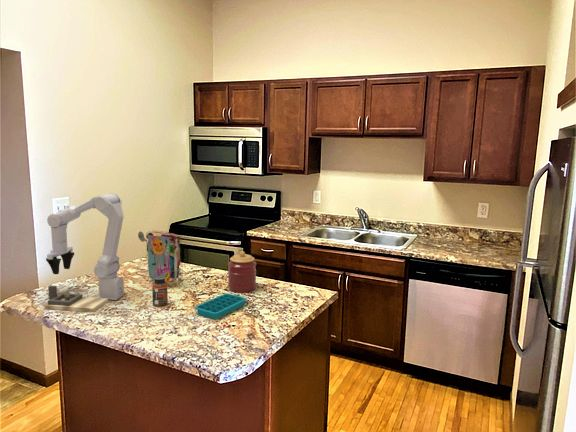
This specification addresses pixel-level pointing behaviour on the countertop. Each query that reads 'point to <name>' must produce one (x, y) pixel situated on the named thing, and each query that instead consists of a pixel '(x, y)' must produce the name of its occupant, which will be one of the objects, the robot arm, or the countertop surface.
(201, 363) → the countertop surface
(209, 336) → the countertop surface
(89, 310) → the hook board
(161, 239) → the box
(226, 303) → the ice cube tray
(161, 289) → the supplement bottle
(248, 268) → the canister
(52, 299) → the dark grey frame stand
